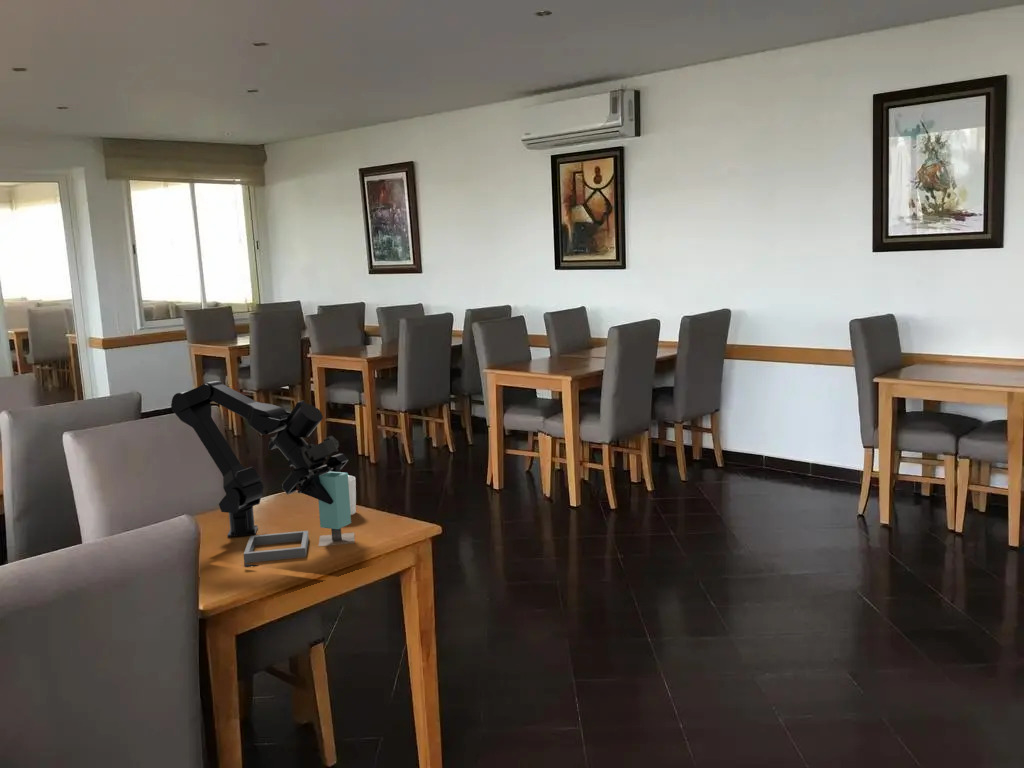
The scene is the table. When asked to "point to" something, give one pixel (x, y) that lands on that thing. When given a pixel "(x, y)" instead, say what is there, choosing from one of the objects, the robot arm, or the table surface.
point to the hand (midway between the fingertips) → (339, 500)
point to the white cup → (352, 493)
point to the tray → (277, 553)
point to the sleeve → (335, 501)
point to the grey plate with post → (336, 538)
